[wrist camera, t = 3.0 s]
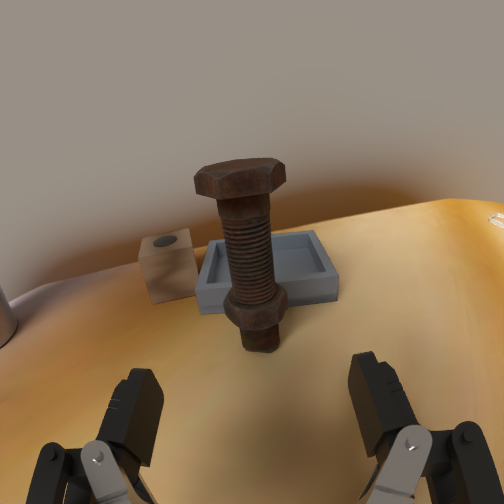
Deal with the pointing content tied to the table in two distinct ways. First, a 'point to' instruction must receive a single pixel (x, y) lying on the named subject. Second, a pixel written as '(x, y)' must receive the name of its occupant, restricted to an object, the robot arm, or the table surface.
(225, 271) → the tray
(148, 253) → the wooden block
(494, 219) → the phone case
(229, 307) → the bolt
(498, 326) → the table surface
